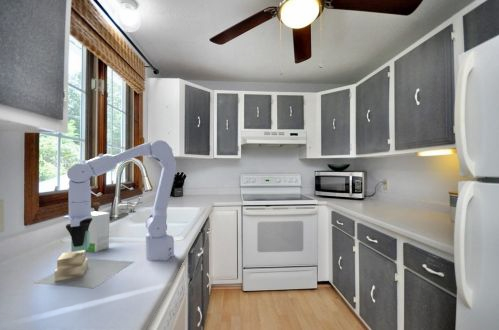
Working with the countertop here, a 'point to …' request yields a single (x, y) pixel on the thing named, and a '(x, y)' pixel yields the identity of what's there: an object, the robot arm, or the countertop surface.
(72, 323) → the countertop surface
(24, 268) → the countertop surface
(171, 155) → the robot arm
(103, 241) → the skincare box
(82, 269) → the maple slab lower
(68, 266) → the maple slab upper
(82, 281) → the grey board
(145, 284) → the countertop surface
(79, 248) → the sage block
